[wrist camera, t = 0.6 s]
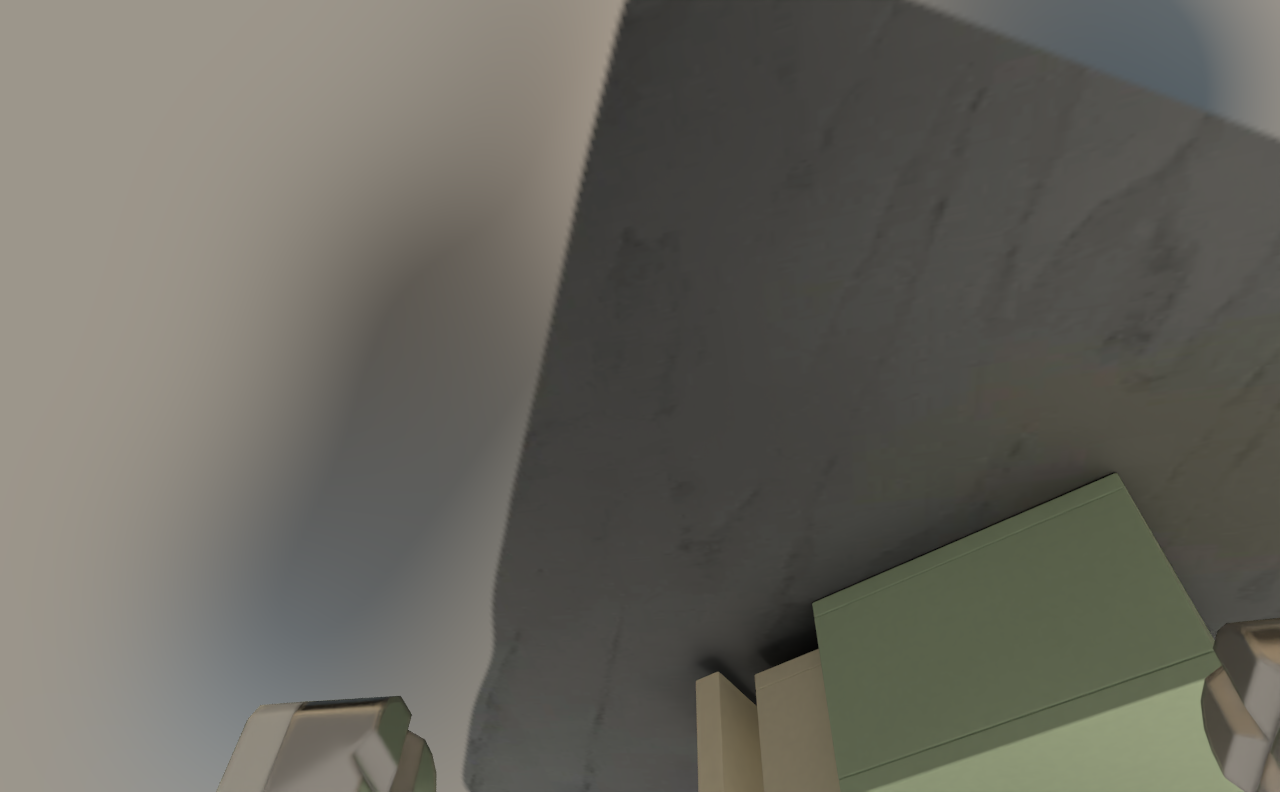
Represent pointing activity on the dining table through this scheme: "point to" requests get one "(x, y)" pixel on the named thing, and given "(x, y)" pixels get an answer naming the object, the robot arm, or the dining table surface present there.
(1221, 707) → the robot arm
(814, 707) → the drawer
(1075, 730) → the cabinet
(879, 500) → the dining table surface
